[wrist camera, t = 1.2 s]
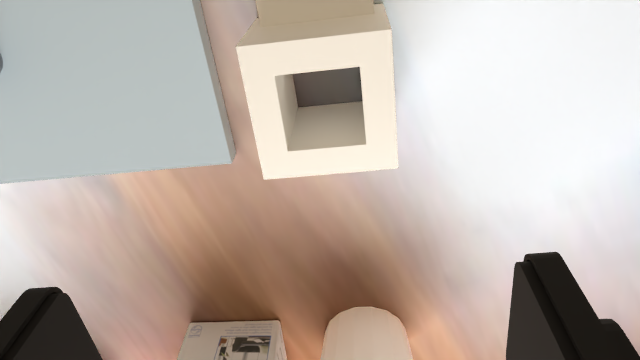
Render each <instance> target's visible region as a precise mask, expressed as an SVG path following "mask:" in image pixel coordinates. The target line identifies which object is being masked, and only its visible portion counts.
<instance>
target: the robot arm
mask: <svg viewBox="0 0 640 360" xmlns="http://www.w3.org/2000/svg"><path fill="white" fill-rule="evenodd" d="M0 360H103V359H102V358H101V356H100V354H99V352H98V350H97V348H96V346H95V344H94V342H93V340H92V339H91V337H90V335H89V333H88V331H87V329H86V327H85V325H84V323H83V321H82V320H81V318H80V316H79V314H78V312H77V310H76V308H75V306H74V304H73V302H72V301H71V299H70V297H69V296H68V295H67V294H66V293H63V292H62V290H61V289H59V288H58V287H46V288H32V289H28V290H26V291H25V292H24V293H23V294H22V295H21V296H20V297H19V298H18V300H17V301H16V302H15V303H14V305H13V306H12V307H11V308H10V310H9V311H8V312H7V313H6V315H5V316H4V317H3V318H2V320H1V321H0ZM506 360H640V356H639V355H638V353H637V352H636V350H635V349H634V347H633V345H632V344H631V342H630V341H629V339H628V338H627V336H626V335H625V333H624V331H623V330H622V329H621V327H620V326H619V325H618V324H617V323H616V322H615V321H613V320H612V319H598V317H597V315H596V314H595V312H594V310H593V309H592V307H591V305H590V304H589V302H588V300H587V299H586V297H585V295H584V294H583V292H582V290H581V289H580V287H579V285H578V283H577V282H576V280H575V278H574V277H573V275H572V273H571V272H570V270H569V268H568V267H567V265H566V263H565V262H564V260H563V258H562V257H561V256H560V254H559V253H557V252H549V253H534V254H526V255H525V257H524V261H523V262H516V264H515V268H514V278H513V288H512V298H511V308H510V318H509V328H508V338H507V348H506Z"/></svg>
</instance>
